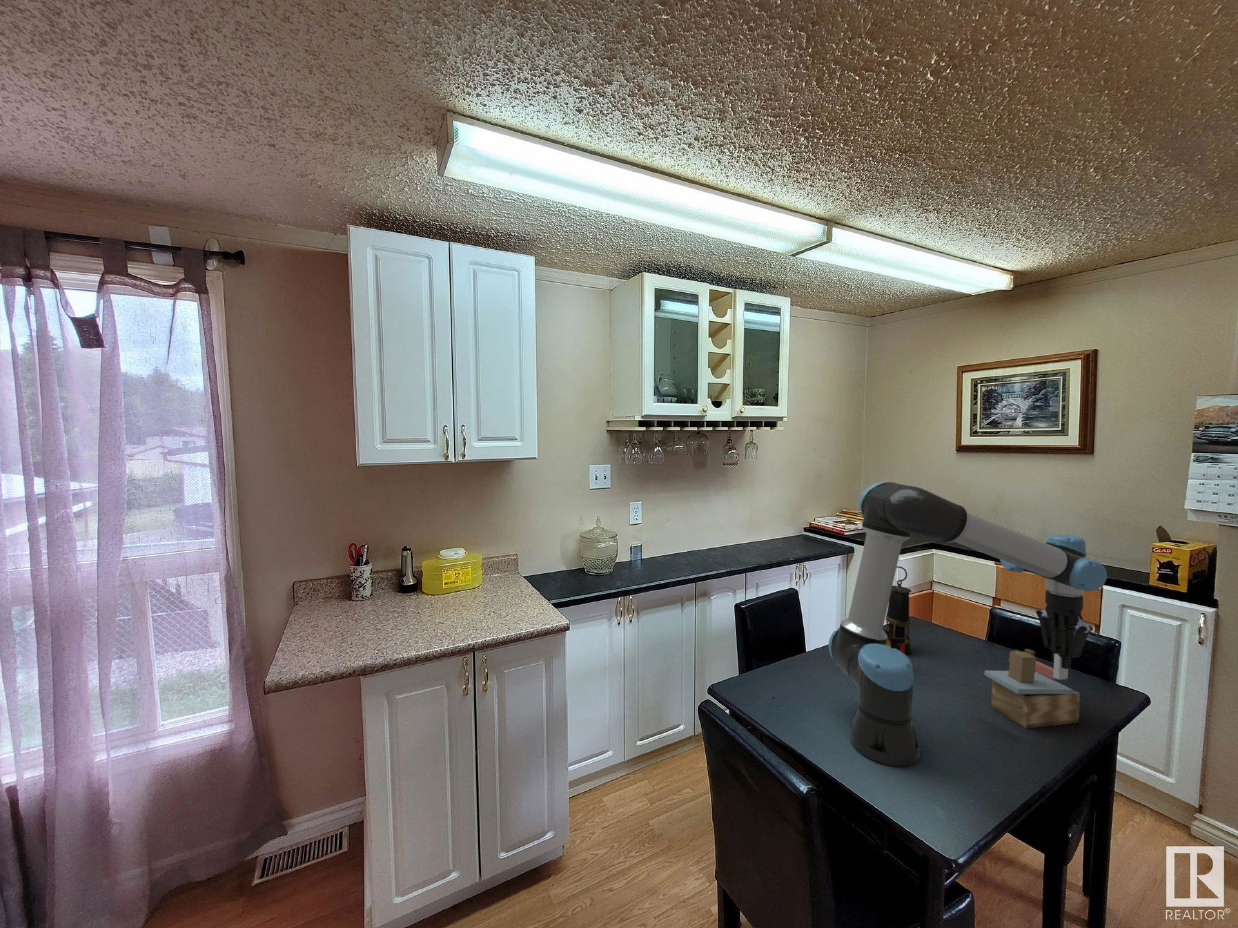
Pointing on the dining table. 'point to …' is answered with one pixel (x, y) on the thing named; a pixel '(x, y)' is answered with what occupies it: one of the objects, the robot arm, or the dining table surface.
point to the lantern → (899, 614)
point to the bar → (1043, 669)
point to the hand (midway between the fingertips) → (1060, 677)
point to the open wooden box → (1036, 707)
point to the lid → (1026, 677)
